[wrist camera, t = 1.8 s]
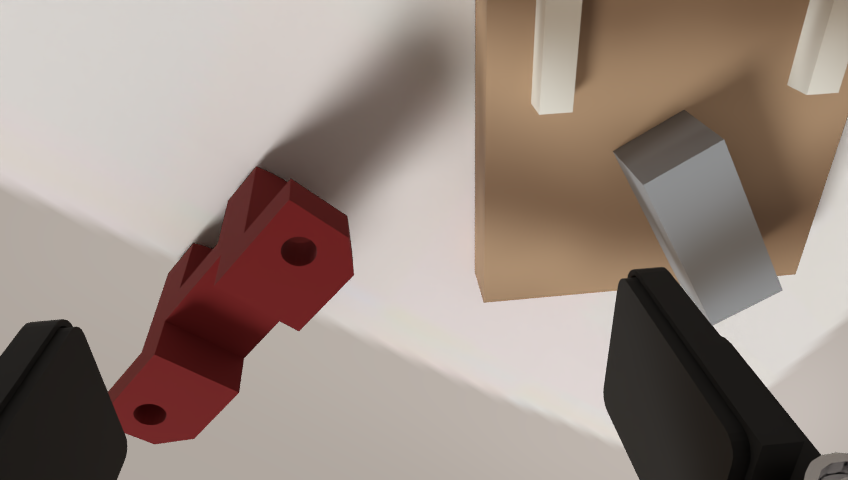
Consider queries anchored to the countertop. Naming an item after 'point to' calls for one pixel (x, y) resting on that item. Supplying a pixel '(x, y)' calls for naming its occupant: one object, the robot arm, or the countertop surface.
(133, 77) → the countertop surface
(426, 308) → the countertop surface
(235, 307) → the bracket
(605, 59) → the jig
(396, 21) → the countertop surface
